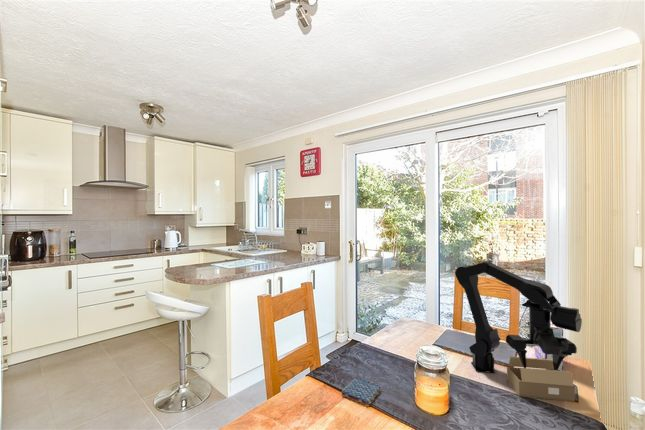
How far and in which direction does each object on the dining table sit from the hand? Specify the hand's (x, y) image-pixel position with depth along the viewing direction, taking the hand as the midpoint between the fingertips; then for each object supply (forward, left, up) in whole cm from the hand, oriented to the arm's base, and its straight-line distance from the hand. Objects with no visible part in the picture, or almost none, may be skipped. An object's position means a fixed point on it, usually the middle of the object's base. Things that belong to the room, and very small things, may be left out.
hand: (539, 369), depth 99 cm
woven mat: (-59, -11, -8) cm, 60 cm away
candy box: (+13, +22, -8) cm, 27 cm away
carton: (0, +1, -8) cm, 8 cm away
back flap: (0, +5, 0) cm, 5 cm away
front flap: (0, -4, 0) cm, 4 cm away
